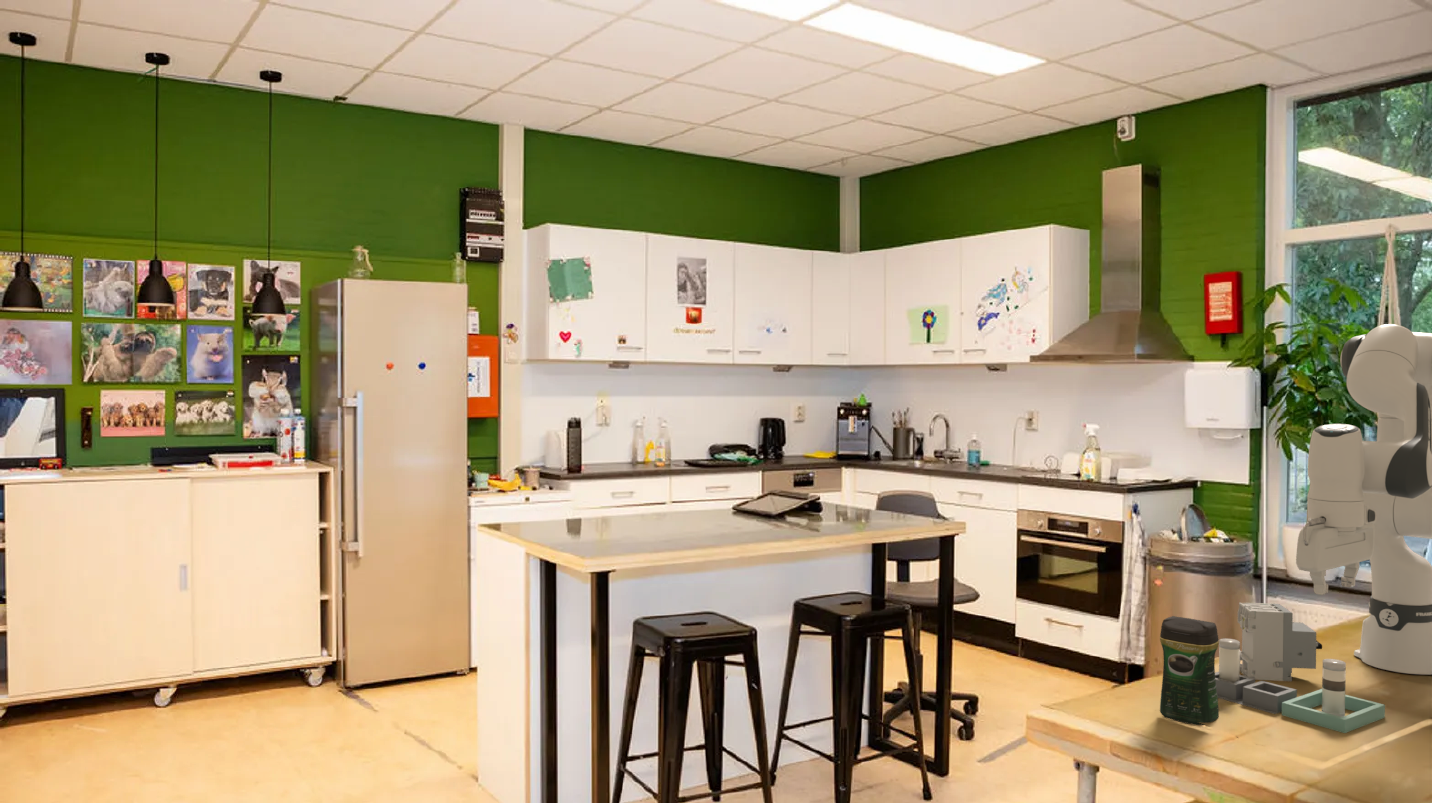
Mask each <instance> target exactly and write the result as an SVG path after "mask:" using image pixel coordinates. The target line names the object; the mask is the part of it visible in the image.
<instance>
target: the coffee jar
mask: <svg viewBox="0 0 1432 803" xmlns="http://www.w3.org/2000/svg"><path fill="white" fill-rule="evenodd" d="M1218 634H1219V633H1218V627H1217V624H1216V623H1215V622H1212V621H1205V620H1201V619H1195V618H1189V617H1182V616H1174V615H1172V616H1169V617H1166V618H1165V619H1163V620H1162V622H1161V627H1160V634H1159V641H1160V645H1161V647H1162V652H1163V653H1162V655H1163V656H1162V657H1163V668H1162V669H1163V670H1162V671H1163V672H1162V681H1161V690H1160V692H1161V693H1160V701H1159V713H1160V714H1161V715H1162V716H1163V717H1164V718H1166V719H1169V720H1172V721H1176V722H1181V723H1184V724H1190V725H1195V726H1205V724H1207V723H1208V724H1209V723H1213V722H1215V721H1217V720H1218V719H1219V718H1220V716H1219V715H1220V711H1219V710H1220V709H1219V700H1218V699H1219V698H1217V690H1216V680H1215V673H1216V670H1215V669H1216V668H1215V662H1216V661H1215V658H1216V652H1217V650H1218V649H1219V640H1220V639H1219V635H1218Z"/></svg>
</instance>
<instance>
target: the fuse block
mask: <svg viewBox="0 0 1432 803" xmlns="http://www.w3.org/2000/svg"><path fill="white" fill-rule="evenodd" d="M1215 680H1216V690H1217V698H1218V699H1221V700H1225V701H1229V702H1231V703H1235V704H1238V705H1242V706H1246V707H1248V708H1252V709H1256V710H1260V711H1263V712H1266V713H1270V714H1274V715H1277V714H1280V713H1282V702H1285V701H1288V700H1291V699H1294V698H1296V697H1298V689H1295V688H1292V687H1288V686H1284V685H1280V684H1276V683H1273V682H1268V681H1266V680H1259V681H1257V682H1256V680H1255V679H1254V678H1250V677H1246V676H1245V675H1243V674H1242V675H1241V674H1240V678H1239V681H1237V682H1234V683H1233V682H1230V681H1226V680H1222V679H1219V671H1215Z"/></svg>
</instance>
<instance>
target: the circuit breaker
mask: <svg viewBox="0 0 1432 803" xmlns="http://www.w3.org/2000/svg"><path fill="white" fill-rule="evenodd" d="M1293 619H1294V618H1293V612H1292V611H1290V610H1289V609H1287V607H1285V606H1283V605H1282V604H1280V603H1265V602H1264V603H1262V602H1239V603H1238V610H1237V624H1239V627H1240V629H1241V650H1240V661H1241V662H1242V663H1240V673H1241V674H1242V675H1243V676H1246V677H1250V678H1254V679H1255V681H1256V680H1259V681H1276V682H1277V681H1278V682H1292V681H1293V677H1292V674H1293V669H1308V670H1309V669H1311V670H1316V669H1317V650H1323V644H1322V643H1321V642H1319V641H1318V640H1317V631H1315V630H1314V629H1312V628H1311V627H1309V626H1308V625H1307V624H1305V623H1304V622H1298V621H1297V622H1296V621H1294V620H1293ZM1293 621H1294V622H1293Z"/></svg>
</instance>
